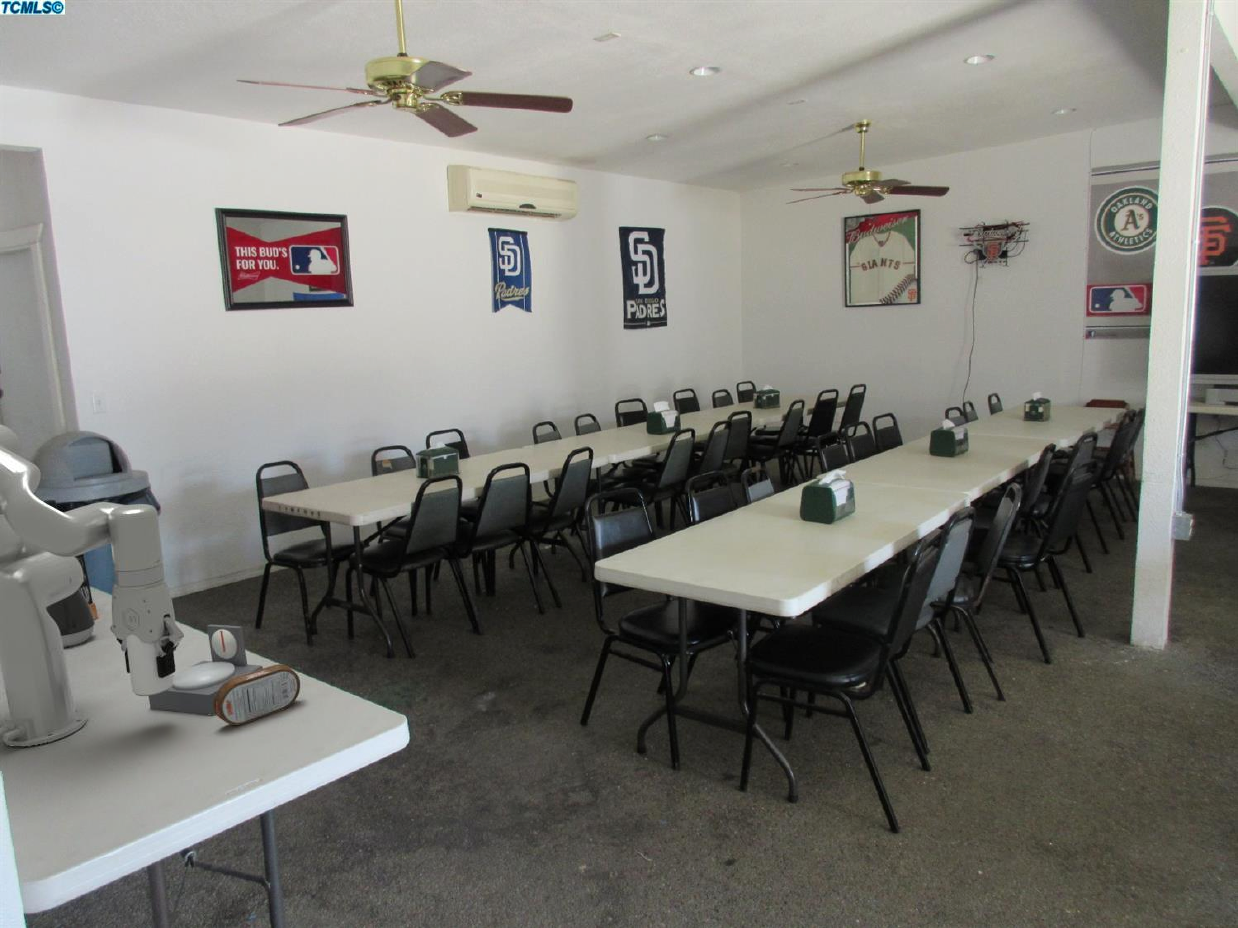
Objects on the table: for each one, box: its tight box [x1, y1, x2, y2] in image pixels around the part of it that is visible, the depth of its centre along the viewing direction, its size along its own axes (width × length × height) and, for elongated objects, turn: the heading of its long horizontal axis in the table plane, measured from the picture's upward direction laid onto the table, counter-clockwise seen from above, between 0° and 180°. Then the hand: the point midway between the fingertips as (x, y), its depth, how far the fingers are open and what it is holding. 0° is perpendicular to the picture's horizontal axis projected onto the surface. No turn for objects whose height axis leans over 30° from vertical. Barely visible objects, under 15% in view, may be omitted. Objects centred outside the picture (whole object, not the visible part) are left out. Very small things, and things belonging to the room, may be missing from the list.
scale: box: [148, 624, 264, 716], centre depth 166 cm, size 14×15×12 cm
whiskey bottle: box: [43, 499, 99, 620], centre depth 216 cm, size 10×10×32 cm
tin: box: [213, 663, 301, 726], centre depth 156 cm, size 15×3×8 cm, turn 135°
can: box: [126, 630, 173, 697], centre depth 152 cm, size 6×6×12 cm
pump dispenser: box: [46, 589, 96, 648], centre depth 202 cm, size 10×10×15 cm
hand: (151, 671), depth 153 cm, fingers closed on can, 6 cm apart
